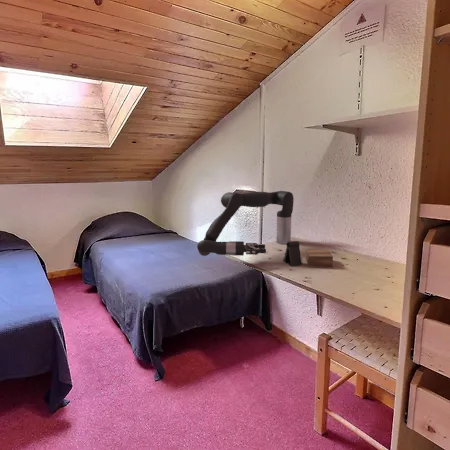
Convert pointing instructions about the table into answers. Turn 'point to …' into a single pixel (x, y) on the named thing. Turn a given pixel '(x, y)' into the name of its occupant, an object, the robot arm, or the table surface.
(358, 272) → the table surface
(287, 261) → the phone stand
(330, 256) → the walnut block
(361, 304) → the table surface
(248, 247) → the robot arm
